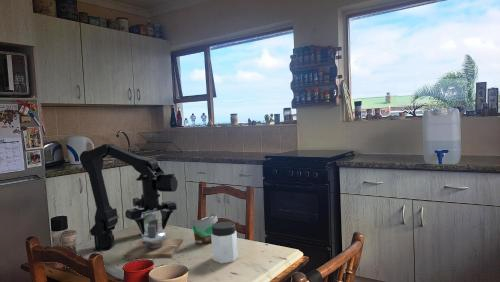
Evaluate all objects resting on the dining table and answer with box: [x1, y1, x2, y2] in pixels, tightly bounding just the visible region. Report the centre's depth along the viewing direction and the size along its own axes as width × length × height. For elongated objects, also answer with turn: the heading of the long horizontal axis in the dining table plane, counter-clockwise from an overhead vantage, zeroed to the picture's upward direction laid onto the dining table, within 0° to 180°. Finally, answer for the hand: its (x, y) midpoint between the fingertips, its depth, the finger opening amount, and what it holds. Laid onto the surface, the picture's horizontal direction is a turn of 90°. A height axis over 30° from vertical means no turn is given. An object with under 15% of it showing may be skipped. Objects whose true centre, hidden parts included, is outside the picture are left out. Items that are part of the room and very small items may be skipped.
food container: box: [191, 212, 219, 246], centre depth 146 cm, size 12×6×10 cm, turn 143°
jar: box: [211, 221, 239, 264], centre depth 127 cm, size 9×8×12 cm
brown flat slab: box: [122, 238, 184, 259], centre depth 141 cm, size 18×16×3 cm
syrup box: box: [139, 208, 157, 232], centre depth 161 cm, size 6×6×14 cm
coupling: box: [141, 218, 167, 245], centre depth 141 cm, size 11×9×7 cm
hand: (153, 231), depth 141 cm, fingers open, 8 cm apart
